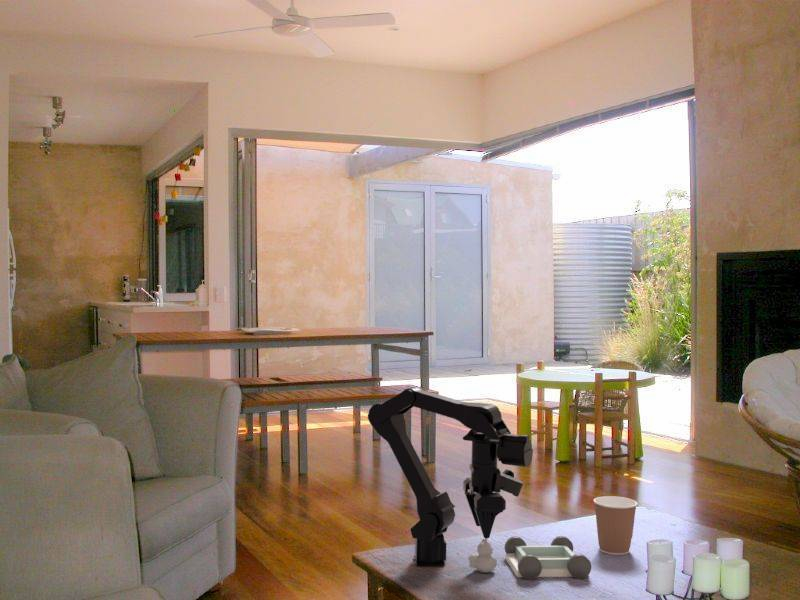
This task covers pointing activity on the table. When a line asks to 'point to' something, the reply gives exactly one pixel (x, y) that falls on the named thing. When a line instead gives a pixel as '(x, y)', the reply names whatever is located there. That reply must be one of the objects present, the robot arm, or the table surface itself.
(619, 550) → the coffee cup
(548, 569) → the toy chassis
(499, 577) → the table surface
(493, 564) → the white figurine
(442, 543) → the robot arm
